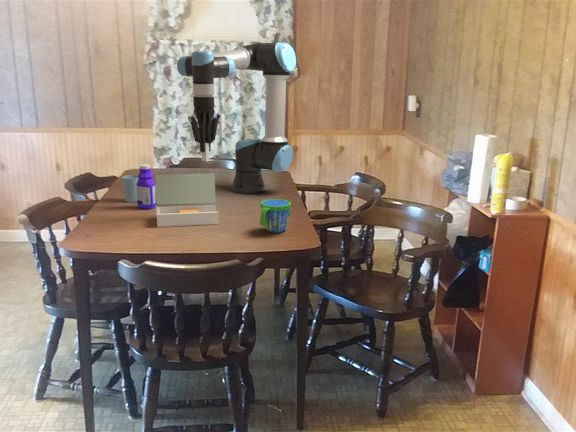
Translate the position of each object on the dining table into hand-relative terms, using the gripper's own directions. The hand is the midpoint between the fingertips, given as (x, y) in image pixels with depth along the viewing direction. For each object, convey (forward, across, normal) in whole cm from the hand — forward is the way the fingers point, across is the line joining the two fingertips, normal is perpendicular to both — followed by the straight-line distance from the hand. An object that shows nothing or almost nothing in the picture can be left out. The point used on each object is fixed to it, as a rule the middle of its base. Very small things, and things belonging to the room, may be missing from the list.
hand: (205, 160), depth 216 cm
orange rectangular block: (+22, +7, -2) cm, 23 cm away
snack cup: (+22, -8, +29) cm, 38 cm away
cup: (+22, +9, -41) cm, 47 cm away
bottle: (+22, +10, -28) cm, 37 cm away
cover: (+11, +5, -6) cm, 14 cm away
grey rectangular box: (+22, +8, -1) cm, 23 cm away
